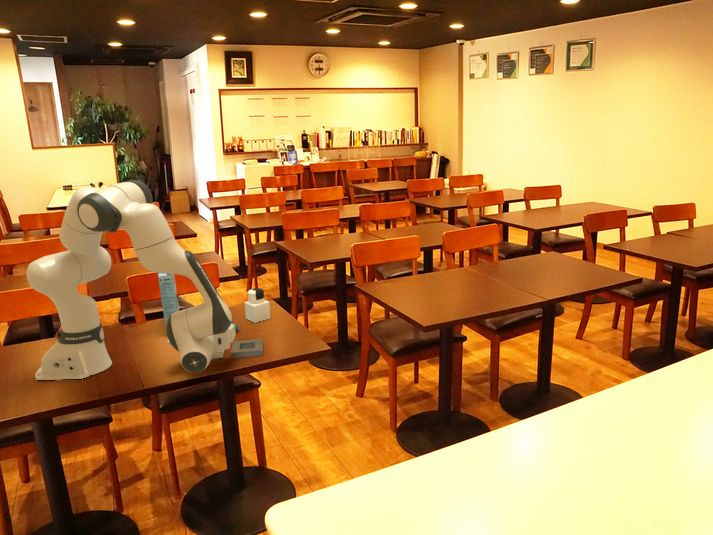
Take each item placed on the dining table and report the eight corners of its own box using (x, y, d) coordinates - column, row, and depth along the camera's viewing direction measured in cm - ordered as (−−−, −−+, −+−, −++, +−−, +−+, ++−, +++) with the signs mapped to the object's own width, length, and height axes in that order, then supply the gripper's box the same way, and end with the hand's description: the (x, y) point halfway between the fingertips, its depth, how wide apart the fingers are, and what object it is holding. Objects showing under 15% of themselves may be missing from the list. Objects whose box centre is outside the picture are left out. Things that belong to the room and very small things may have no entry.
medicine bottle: (261, 314, 233) (258, 285, 230) (271, 319, 227) (268, 289, 224) (245, 319, 228) (242, 289, 225) (255, 323, 223) (252, 293, 220)
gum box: (180, 334, 215) (172, 275, 209) (165, 336, 214) (157, 276, 208) (180, 317, 234) (173, 262, 227) (167, 319, 232) (159, 263, 226)
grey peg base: (231, 358, 192) (231, 352, 192) (233, 346, 202) (233, 341, 201) (262, 355, 194) (262, 349, 193) (262, 344, 203) (262, 338, 203)
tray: (191, 361, 192) (190, 354, 191) (194, 351, 199) (193, 344, 199) (222, 358, 193) (221, 351, 192) (224, 348, 201) (223, 342, 200)
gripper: (167, 354, 181) (174, 337, 194) (234, 348, 183) (237, 332, 197) (164, 335, 179) (171, 319, 192) (232, 329, 182) (235, 314, 195)
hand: (205, 326), depth 194 cm, fingers open, 8 cm apart
